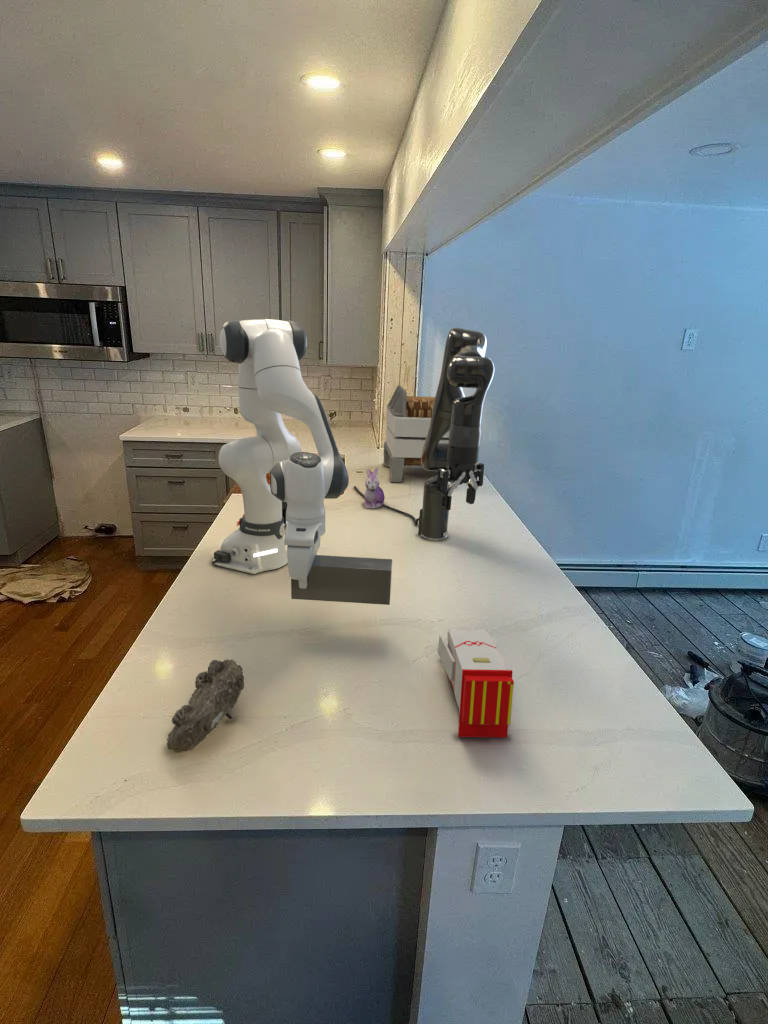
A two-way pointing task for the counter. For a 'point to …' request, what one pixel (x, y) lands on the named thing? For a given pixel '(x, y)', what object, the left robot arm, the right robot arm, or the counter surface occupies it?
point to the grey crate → (406, 431)
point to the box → (347, 580)
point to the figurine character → (284, 511)
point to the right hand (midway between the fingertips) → (458, 506)
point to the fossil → (206, 705)
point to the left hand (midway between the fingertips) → (306, 580)
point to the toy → (478, 682)
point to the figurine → (373, 491)
